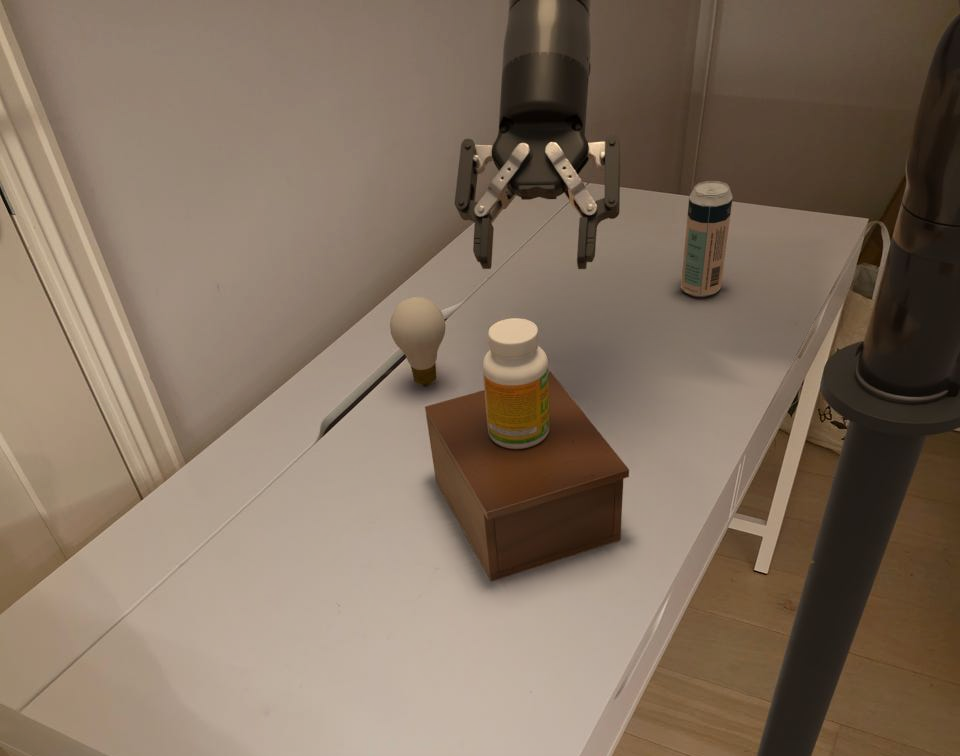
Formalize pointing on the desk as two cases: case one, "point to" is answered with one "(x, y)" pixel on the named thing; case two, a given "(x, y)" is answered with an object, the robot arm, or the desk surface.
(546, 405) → the supplement bottle
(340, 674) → the desk surface
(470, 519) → the chest
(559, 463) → the lid
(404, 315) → the light bulb
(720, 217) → the beer can
